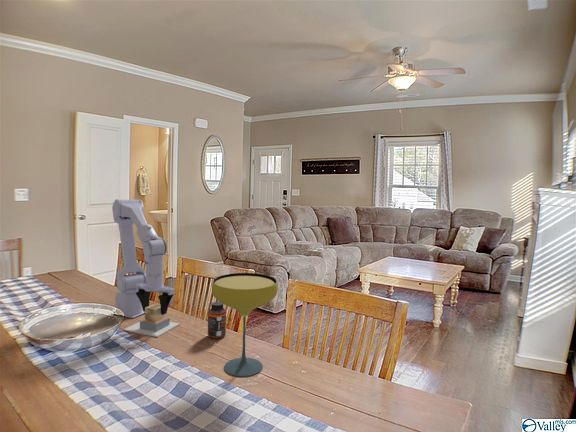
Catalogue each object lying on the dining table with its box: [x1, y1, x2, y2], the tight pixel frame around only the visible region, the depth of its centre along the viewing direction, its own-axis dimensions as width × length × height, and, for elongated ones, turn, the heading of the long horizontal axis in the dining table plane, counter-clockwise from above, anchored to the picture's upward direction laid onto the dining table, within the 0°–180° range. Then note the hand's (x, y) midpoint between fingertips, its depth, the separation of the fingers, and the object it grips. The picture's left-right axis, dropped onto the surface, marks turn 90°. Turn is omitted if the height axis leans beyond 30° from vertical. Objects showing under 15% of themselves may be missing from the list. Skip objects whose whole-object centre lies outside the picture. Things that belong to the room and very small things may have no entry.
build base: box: [123, 316, 181, 338], centre depth 134 cm, size 14×12×3 cm
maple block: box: [144, 303, 165, 323], centre depth 133 cm, size 4×4×4 cm
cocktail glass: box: [211, 272, 279, 378], centre depth 107 cm, size 18×18×25 cm
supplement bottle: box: [207, 301, 227, 340], centre depth 128 cm, size 6×6×11 cm
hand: (154, 312), depth 133 cm, fingers open, 7 cm apart
